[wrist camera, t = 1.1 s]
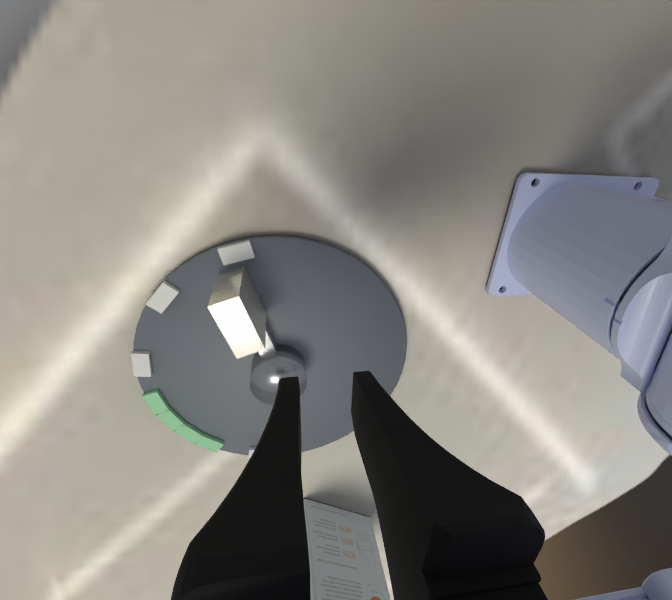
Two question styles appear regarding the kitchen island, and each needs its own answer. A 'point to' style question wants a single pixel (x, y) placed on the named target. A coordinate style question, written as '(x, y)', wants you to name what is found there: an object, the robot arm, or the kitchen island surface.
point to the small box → (342, 555)
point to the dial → (286, 329)
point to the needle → (253, 335)
